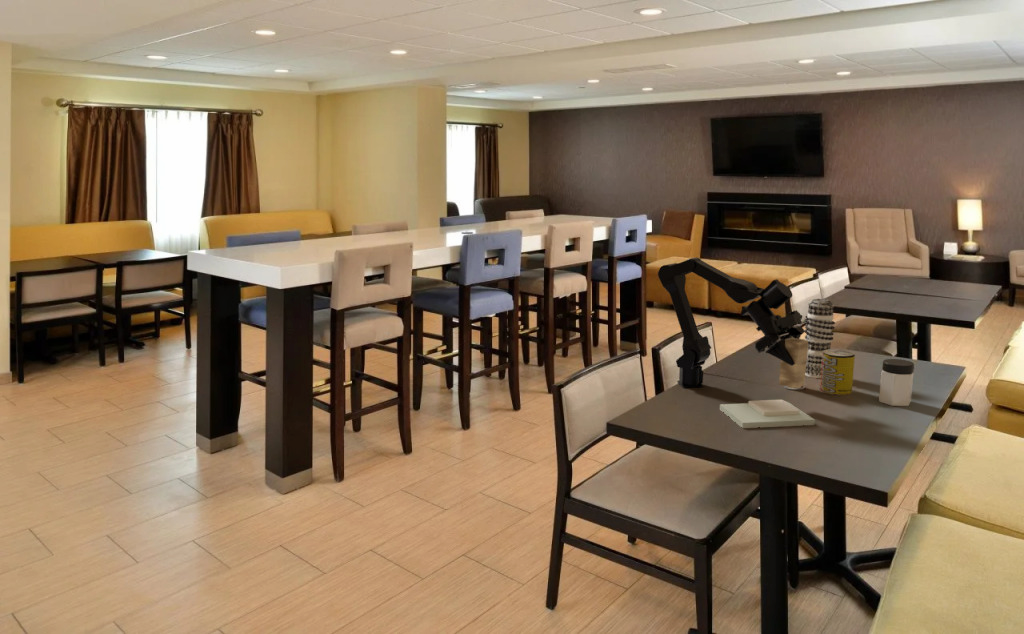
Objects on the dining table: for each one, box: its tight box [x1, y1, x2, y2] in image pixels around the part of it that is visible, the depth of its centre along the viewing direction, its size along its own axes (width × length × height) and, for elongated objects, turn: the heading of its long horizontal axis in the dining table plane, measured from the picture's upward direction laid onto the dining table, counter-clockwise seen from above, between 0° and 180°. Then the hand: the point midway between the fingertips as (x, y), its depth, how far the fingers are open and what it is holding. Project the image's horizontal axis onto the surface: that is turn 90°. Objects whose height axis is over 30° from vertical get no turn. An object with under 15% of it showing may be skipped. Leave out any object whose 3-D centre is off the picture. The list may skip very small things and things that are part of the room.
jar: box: [878, 358, 915, 407], centre depth 224 cm, size 9×8×12 cm
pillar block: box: [778, 338, 808, 388], centre depth 218 cm, size 5×5×13 cm
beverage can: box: [819, 348, 856, 396], centre depth 236 cm, size 9×9×12 cm
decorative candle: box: [804, 298, 836, 379], centre depth 252 cm, size 9×9×25 cm
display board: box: [719, 399, 816, 429], centre depth 213 cm, size 20×16×2 cm
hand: (798, 363), depth 217 cm, fingers closed on pillar block, 5 cm apart
